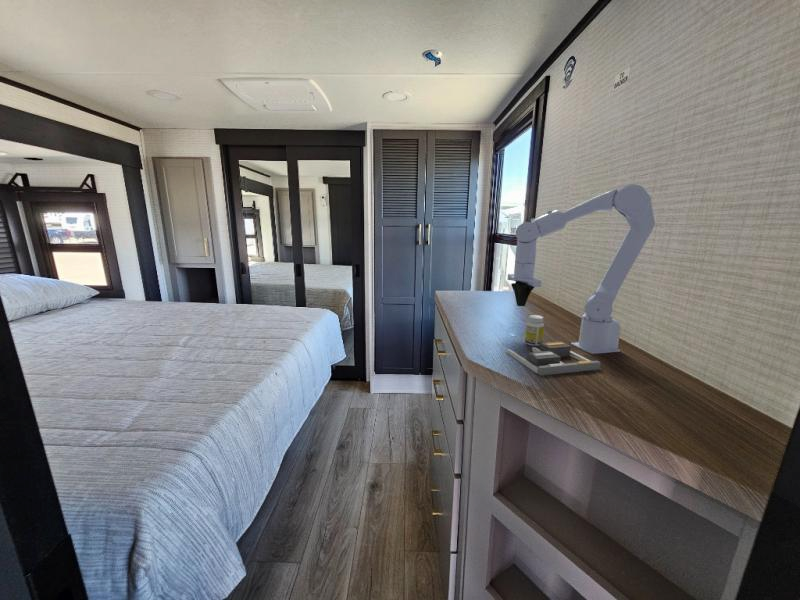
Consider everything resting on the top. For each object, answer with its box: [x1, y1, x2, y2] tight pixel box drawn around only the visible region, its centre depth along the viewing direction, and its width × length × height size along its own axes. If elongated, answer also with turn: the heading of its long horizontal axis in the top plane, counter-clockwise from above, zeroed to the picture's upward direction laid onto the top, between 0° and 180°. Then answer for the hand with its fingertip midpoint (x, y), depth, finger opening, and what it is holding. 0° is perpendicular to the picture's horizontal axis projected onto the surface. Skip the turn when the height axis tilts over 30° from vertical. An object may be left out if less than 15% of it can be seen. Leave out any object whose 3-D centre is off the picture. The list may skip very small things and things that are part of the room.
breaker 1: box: [526, 351, 562, 367], centre depth 76 cm, size 6×4×3 cm, turn 102°
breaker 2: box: [538, 340, 572, 358], centre depth 83 cm, size 6×4×3 cm, turn 102°
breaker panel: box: [506, 346, 601, 376], centre depth 79 cm, size 16×14×2 cm
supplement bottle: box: [524, 314, 545, 347], centre depth 91 cm, size 5×5×8 cm
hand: (520, 305), depth 97 cm, fingers closed
